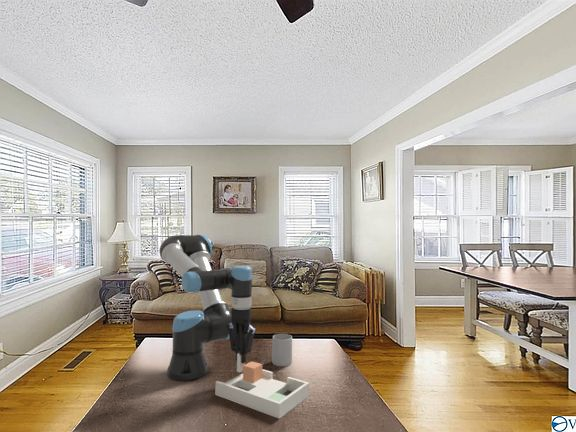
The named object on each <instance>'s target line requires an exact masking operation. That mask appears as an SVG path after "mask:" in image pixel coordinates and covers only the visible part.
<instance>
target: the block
mask: <svg viewBox="0 0 576 432" xmlns="http://www.w3.org/2000/svg"><path fill="white" fill-rule="evenodd" d="M262 369H263V363H260V362H256V361H252V360H251V361H249V362H248V363H247V362H246V363H245V365H243V371H242V374H243V380H246V381H250V382H253V383H254V382H256V381H258V380H260V379H261V378H262Z"/></svg>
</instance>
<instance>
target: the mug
mask: <svg viewBox="0 0 576 432" xmlns="http://www.w3.org/2000/svg"><path fill="white" fill-rule="evenodd" d="M271 347H272V348H271V349H272V351H271V352H272V357H271V359H272V360H271V362H272V364H273V365H274V366H276V367H287V366H291V365H292V363H293V336H292V335H291V334H287V333H279V334H278V333H277V334H274V335H272V346H271Z"/></svg>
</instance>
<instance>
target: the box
mask: <svg viewBox="0 0 576 432" xmlns="http://www.w3.org/2000/svg"><path fill="white" fill-rule="evenodd" d="M273 377H274V372H273V371H270V370H267V369H263V368H262V378H261V379H260V380H258V381H256V382H254V383H253V382H250V381H246V380H243V373H241V374H239V375H237V376H234V377H233V378H231V379H229V380H227V381H225V382H223V381H219V380H215V387H214V388H215V390H214V391H215V392H214V394H215V396H217V397H220V398H222V399H226V400H229V401H230V402H234V403H237V404H239V405H241V406H244V407H246V408H249V409H252V410H255V411H257V412H260V413H262V414H265V415H269V416H270V417H273V418H276V419H281V418H283V417H284V416H285V415H287V414H288V413H289V412H291V410H293V409H294V408H296V407H297V406H298V405H299V404H300V403H302V402H303V401H304V400H306V399H307V398H308V397H310V382H307V381H304V380H302V379H297V378H294V377H291V376H288V377H287V378H286V382H284V381H281V380H277V379H274V378H273Z"/></svg>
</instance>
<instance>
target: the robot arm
mask: <svg viewBox="0 0 576 432" xmlns="http://www.w3.org/2000/svg"><path fill="white" fill-rule="evenodd" d="M212 254H213V244H212V241H211V240H210V239H209V237H208V236H206V235H204V234H195V235H192V234H191V235H189V234H186V235H183V234H182V235H177V234H176V235H171V236H169V237H167V238H166V239H164V241H163V242H162V243H161V245H160V247H159V256H160V258H161V260H163V262H164V263H165V264H169V265H170V266H171V267H172V268H173V269H174V270H175V271H176V272H177V273H178V275H179V276H180V277H181V285H182V289H183V291H185V292H186V293H198V295H199V298H200V302H201V304H202V308H203V309H202V310H198V309H195V310H187V311H184V312H181V313H178V314H177V315H176V316H174V318H173V321H172V322H173V323H172V327H171V328H172V354H171V358H170V362H169V365H168V366H167V372H166V373H167V377H168V378H169V379H171V380H173V381H182V382H184V381H192V380H197V379H199V378H202V377H204V376H205V375H206V374H207V373H208V365H207V362H206V357H205V354H204V344H210V343H213V342H219V341H226V340H228V339H229V341H230V342H229V343H230V348H231V351H233V352H235V362H236V372H237V373H243V365H245V364H246V363H247V354H249V353H251V352H252V346H253V343H254V342H253V341H254V338H255V334H256V332H257V328H256V327H253V326H252V323H251V321H252V320H251V318H252V303H253V300H252V292H253V291H252V289H253V287H252V286H253V284H252V283H253V274H252V268H251V266H249V265H235V266H233V267H232V268H230V267H226V268H225V267H224V268H221V269H213V270H212V266H211V264H210V260H211V257H212ZM223 289H224V290H225V289H229V290H231V307H232V308H230V307H229V304H228V303H227V302H224V301H223V297H222V295H221V292H220V290H223Z"/></svg>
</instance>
